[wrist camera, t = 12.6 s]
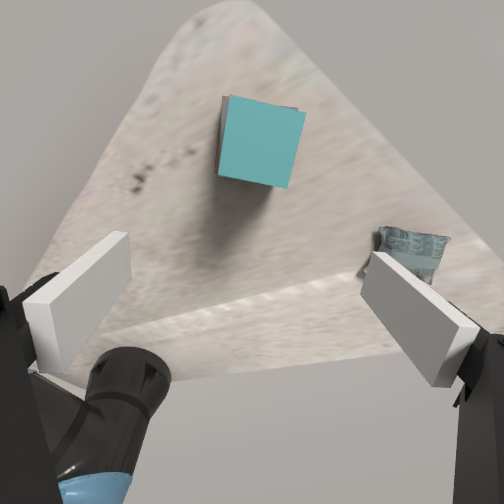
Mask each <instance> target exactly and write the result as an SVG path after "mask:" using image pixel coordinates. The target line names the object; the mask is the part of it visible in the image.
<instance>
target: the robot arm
mask: <svg viewBox="0 0 504 504" xmlns="http://www.w3.org/2000/svg"><path fill="white" fill-rule="evenodd" d="M131 280H132V276H131V262H130V247H129V233H128V232H116V231H113V232H112V233H110V234H109V235H108V236H106V237H105V238H104V239H103V240H101V241H100V242H99V243H97V244H96V245H95V246H94V247H92V248H91V249H90V250H89V251H87V252H86V253H85V254H83V255H82V256H81V257H80V258H78V259H77V260H76V261H74V262H73V263H72V264H71V265H69V266H68V267H67V268H66V269H64V270H63V271H62V272H54V273H52V274H50V275H47V276H45V277H42V278H41V279H40V280H38V281H37V282H35V283H34V284H33V286H30V287H29V288H27V289H26V290H25V292H22V293H21V294H19V295H18V296H16V297H15V298H14V299H12V300H11V301H9V297H8V294H7V290H6V288H5V287H4V286H0V504H122V503H123V501H124V498H125V496H126V493H127V491H128V488H129V486H130V484H131V482H132V476H133V472H134V469H135V466H136V463H137V459H138V456H139V453H140V450H141V447H142V443H143V440H144V437H145V434H146V430H147V427H148V424H149V420H150V418H151V417H152V416H153V414H154V413H155V411H156V410H157V409H158V407H159V406H160V404H161V403H162V401H163V400H164V399H165V397H166V395H167V393H168V390H169V386H170V383H171V373H170V370H169V368H168V366H167V365H166V363H165V362H164V361H163V360H162V359H161V358H160V357H158V356H157V355H155V354H154V353H152V352H150V351H147V350H145V349H141V348H136V347H119V348H115V349H112V350H109V351H107V352H105V353H104V354H103V355H101V356H100V357H99V359H98V360H97V362H96V363H95V365H94V366H93V368H92V370H91V372H90V375H89V380H88V385H87V390H86V396H85V401H83V400H82V399H80V398H79V397H77V396H75V395H73V394H72V393H70V392H69V391H67V390H65V389H64V388H62V387H60V386H58V385H57V384H55V383H53V382H52V381H50V380H48V379H47V378H45V377H43V376H42V375H40V374H38V373H37V371H36V370H31V369H29V367H30V365H31V364H32V363H33V362H34V361H35V360H36V361H37V365H38V369H39V373H54V374H64V373H65V371H66V370H67V368H68V367H69V366H70V364H71V363H72V362H73V360H74V359H75V357H76V356H77V355H78V353H79V352H80V350H81V349H82V348H83V346H84V345H85V344H86V342H87V341H88V339H89V338H90V337H91V335H92V334H93V333H94V331H95V330H96V328H97V327H98V326H99V324H100V323H101V321H102V320H103V319H104V317H105V316H106V315H107V313H108V312H109V310H110V309H111V308H112V306H113V305H114V304H115V302H116V301H117V299H118V298H119V297H120V295H121V294H122V292H123V291H124V290H125V288H126V287H127V286H128V284H129V283H130V281H131ZM360 295H361V296H362V297H363V299H364V300H365V301H366V303H367V304H368V305H369V307H370V308H371V309H372V310H373V312H374V313H375V314H376V316H377V317H378V318H379V319H380V321H381V322H382V323H383V325H384V326H385V327H386V329H387V330H388V331H389V332H390V334H391V335H392V336H393V338H394V339H395V340H396V342H397V343H398V344H399V345H400V347H401V348H402V349H403V351H404V352H405V353H406V354H407V356H408V357H409V358H410V360H411V361H412V362H413V363H414V365H415V366H416V367H417V369H418V370H419V371H420V373H421V374H422V375H423V377H424V378H425V379H426V380H427V382H428V383H429V384H430V385H431V387H445V388H451V386H452V384H453V382H454V380H455V378H456V376H457V375H458V376H459V377H460V378H461V379H462V380H463V382H464V383H465V384H464V386H463V387H462V389H461V391H460V393H459V395H458V397H457V399H456V401H455V403H454V405H453V407H455V408H456V407H457V406H458V405H460V406H459V420H458V435H457V449H456V464H455V478H454V492H453V504H504V335H502V334H490V333H489V332H488V331H486V330H485V329H484V328H482V327H481V326H480V325H479V324H477V323H476V322H475V321H474V320H472V319H471V318H470V317H467V315H466V314H465V313H463V312H462V311H460V309H458V308H457V307H456V306H454V305H453V304H452V303H451V302H449V301H447V300H445V299H444V298H442V297H441V296H440V295H439V294H437V293H436V292H435V291H433V290H432V289H431V288H430V287H428V286H427V285H426V284H425V283H423V282H422V281H421V280H420V279H418V278H417V277H416V276H415V275H413V274H412V273H411V272H410V271H408V270H407V269H406V268H404V267H403V266H402V265H401V264H399V263H398V262H397V261H396V260H394V259H393V258H392V257H391V256H389V255H388V254H387V253H386V252H373V251H372V254H371V258H370V261H369V265H368V268H367V272H366V275H365V279H364V282H363V286H362V289H361V293H360Z"/></svg>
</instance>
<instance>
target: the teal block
mask: <svg viewBox="0 0 504 504" xmlns="http://www.w3.org/2000/svg"><path fill="white" fill-rule="evenodd" d="M305 116H306V113H304V112H300V111H296V110H292V109H288V108H284V107H279V106H275V105H271V104H267V103H263V102H259V101H254V100H250V99H246V98H242V97H238V96H234V95H230V100H229V106H228V113H227V119H226V125H225V132H224V138H223V145H222V151H221V157H220V164H219V170H218V175H222V176H227V177H232V178H236V179H241V180H246V181H251V182H256V183H261V184H266V185H271V186H275V187H280V188H285V189H287V187H288V183H289V179H290V175H291V171H292V167H293V163H294V159H295V155H296V151H297V147H298V143H299V139H300V136H301V132H302V128H303V124H304V120H305Z"/></svg>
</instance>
